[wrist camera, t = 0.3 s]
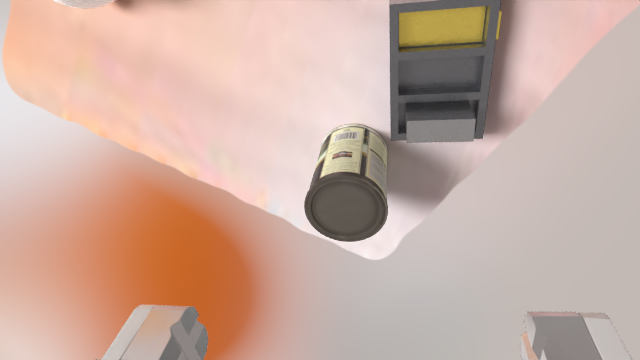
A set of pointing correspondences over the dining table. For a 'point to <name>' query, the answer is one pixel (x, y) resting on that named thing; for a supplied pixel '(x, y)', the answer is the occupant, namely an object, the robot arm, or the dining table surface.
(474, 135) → the rack
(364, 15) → the dining table surface
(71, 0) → the white lumpy piece
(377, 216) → the coffee can
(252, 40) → the dining table surface
